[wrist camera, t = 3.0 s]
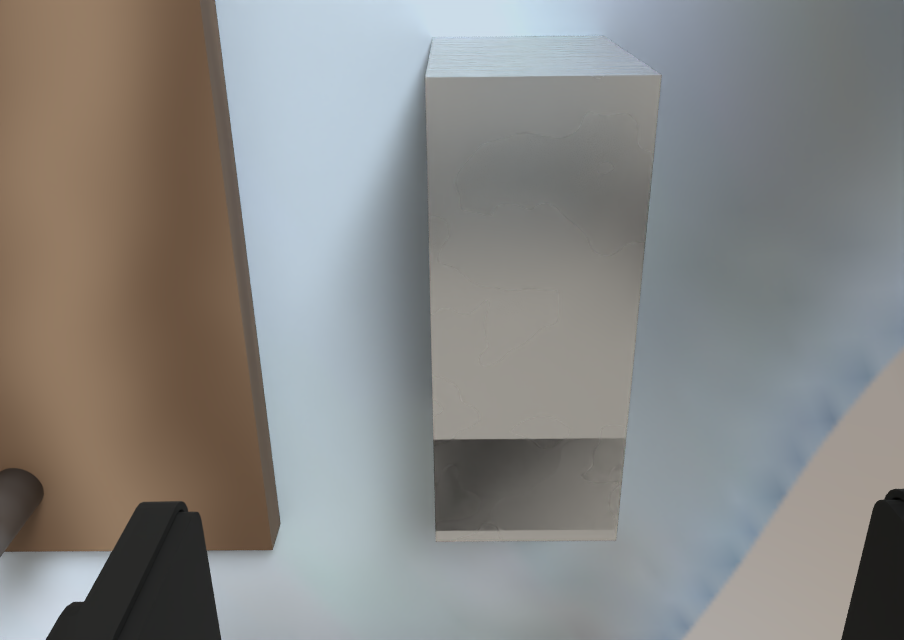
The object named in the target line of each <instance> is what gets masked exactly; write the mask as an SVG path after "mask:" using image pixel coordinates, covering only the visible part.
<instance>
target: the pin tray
mask: <svg viewBox="0 0 904 640" xmlns="http://www.w3.org/2000/svg"><path fill="white" fill-rule="evenodd" d="M160 501H183V502H185V504H186V506H187V508H188V512H199V514H200V516H201V520H202V525H203V531H204V538H205V544H206V550H273V547H274V544H275V540H276V537H277V533H278V530H279V527H280V517H279V509H278V501H277V493H276V485H275V477H274V469H273V461H272V453H271V445H270V437H269V429H268V421H267V413H266V405H265V397H264V389H263V381H262V373H261V365H260V357H259V349H258V341H257V333H256V325H255V317H254V309H253V301H252V293H251V285H250V277H249V269H248V261H247V253H246V245H245V237H244V229H243V221H242V213H241V205H240V197H239V189H238V181H237V173H236V165H235V157H234V149H233V141H232V133H231V125H230V117H229V109H228V101H227V93H226V85H225V77H224V69H223V61H222V53H221V45H220V37H219V29H218V21H217V13H216V5H215V0H0V557H1V555H2V554H3V553H4V552H27V551H112V550H113V549H114V547H115V545H116V543H117V541H118V540H119V538H120V536H121V534H122V532H123V531H124V529H125V527H126V525H127V523H128V522H129V520H130V518H131V516H132V514H133V513H134V511H135V509H136V507H137V506H138V505H139V503H142V502H160Z"/></svg>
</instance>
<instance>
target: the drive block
mask: <svg viewBox="0 0 904 640" xmlns="http://www.w3.org/2000/svg"><path fill="white" fill-rule="evenodd" d="M661 76H662V75H661V74H659V73H658V72H656V71H655V70H653V69H652V68H650V67H649V66H648V65H646V64H645V63H643V62H642V61H640V60H639V59H637V58H636V57H634V56H633V55H631V54H630V53H628V52H627V51H625V50H624V49H622V48H621V47H619V46H618V45H617V44H615V43H614V42H612V41H611V40H609V39H608V38H606V37H605V36H514V37H433V39H432V44H431V50H430V55H429V60H428V65H427V70H426V75H425V96H426V140H427V183H428V226H429V270H430V313H431V356H432V400H433V443H434V486H435V529H436V542H459V541H609V540H616V536H617V526H618V515H619V505H620V495H621V485H622V475H623V464H624V454H625V444H626V434H627V423H628V413H629V403H630V393H631V383H632V372H633V362H634V352H635V342H636V331H637V321H638V311H639V301H640V291H641V280H642V270H643V260H644V250H645V240H646V229H647V219H648V209H649V199H650V188H651V178H652V168H653V158H654V148H655V137H656V127H657V117H658V107H659V96H660V86H661Z"/></svg>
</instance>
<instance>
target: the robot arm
mask: <svg viewBox="0 0 904 640" xmlns="http://www.w3.org/2000/svg"><path fill="white" fill-rule="evenodd" d="M46 640H221V635H220V629H219V623H218V617H217V611H216V605H215V599H214V593H213V586H212V580H211V574H210V568H209V562H208V556H207V550H206V544H205V538H204V531H203V525H202V520H201V516H200V514H199V512H188V508H187V506H186V504H185V502H183V501H160V502H142V503H139V505H138V506H137V507H136V509H135V511H134V513H133V514H132V516H131V518H130V520H129V522H128V523H127V525H126V527H125V529H124V531H123V532H122V534H121V536H120V538H119V540H118V541H117V543H116V545H115V547H114V549H113V550H112V552H111V554H110V556H109V558H108V559H107V561H106V563H105V565H104V567H103V569H102V570H101V572H100V574H99V576H98V578H97V579H96V581H95V583H94V585H93V587H92V588H91V590H90V592H89V594H88V596H87V597H86V599H85V601H84V602H73V603H71V604H70V605H68V606H67V607H66V608H65V609H64V611H63V612H62V613H61V615H60V616H59V618H58V619H57V621H56V623H55V625H54V626H53V628H52V630H51V632H50V633H49V635H48V637H47V638H46ZM841 640H904V489H893V490H890V491H889V492H888V494H887V495H886V497H885V499H884V500H879V501H877V502H876V504H875V505H874V508H873V511H872V515H871V519H870V524H869V528H868V532H867V536H866V540H865V544H864V548H863V553H862V557H861V561H860V565H859V569H858V574H857V577H856V581H855V585H854V590H853V594H852V598H851V602H850V607H849V610H848V614H847V618H846V623H845V627H844V631H843V635H842V639H841Z"/></svg>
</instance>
